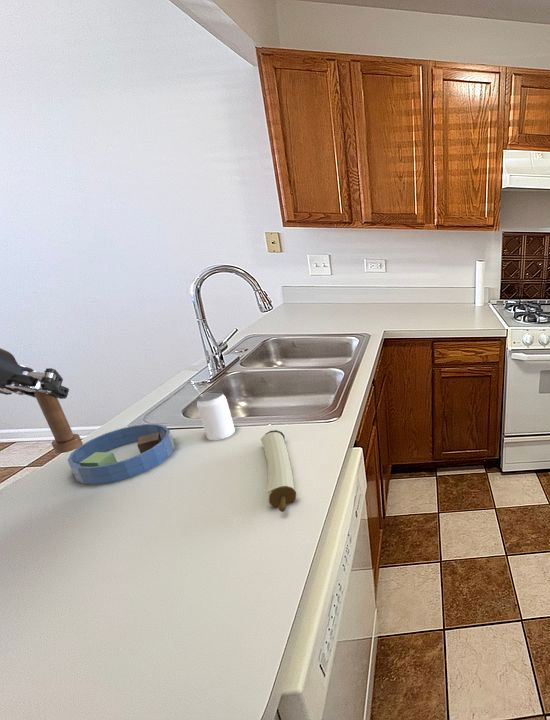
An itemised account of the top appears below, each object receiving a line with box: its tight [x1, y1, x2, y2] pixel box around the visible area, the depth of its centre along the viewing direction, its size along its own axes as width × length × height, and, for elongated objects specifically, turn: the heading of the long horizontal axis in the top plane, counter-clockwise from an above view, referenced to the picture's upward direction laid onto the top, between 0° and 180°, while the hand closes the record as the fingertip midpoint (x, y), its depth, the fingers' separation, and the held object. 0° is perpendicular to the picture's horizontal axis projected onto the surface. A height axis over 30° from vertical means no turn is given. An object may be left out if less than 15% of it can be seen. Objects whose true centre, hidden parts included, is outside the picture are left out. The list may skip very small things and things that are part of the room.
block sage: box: [80, 451, 118, 467], centre depth 90 cm, size 4×4×4 cm
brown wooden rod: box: [33, 384, 83, 454], centre depth 77 cm, size 4×4×15 cm
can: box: [196, 390, 236, 441], centre depth 104 cm, size 6×6×12 cm
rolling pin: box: [260, 429, 297, 513], centre depth 90 cm, size 32×6×5 cm, turn 29°
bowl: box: [67, 423, 175, 486], centre depth 94 cm, size 18×18×5 cm
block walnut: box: [136, 432, 162, 454], centre depth 97 cm, size 4×4×4 cm
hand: (56, 394), depth 78 cm, fingers closed on brown wooden rod, 2 cm apart
